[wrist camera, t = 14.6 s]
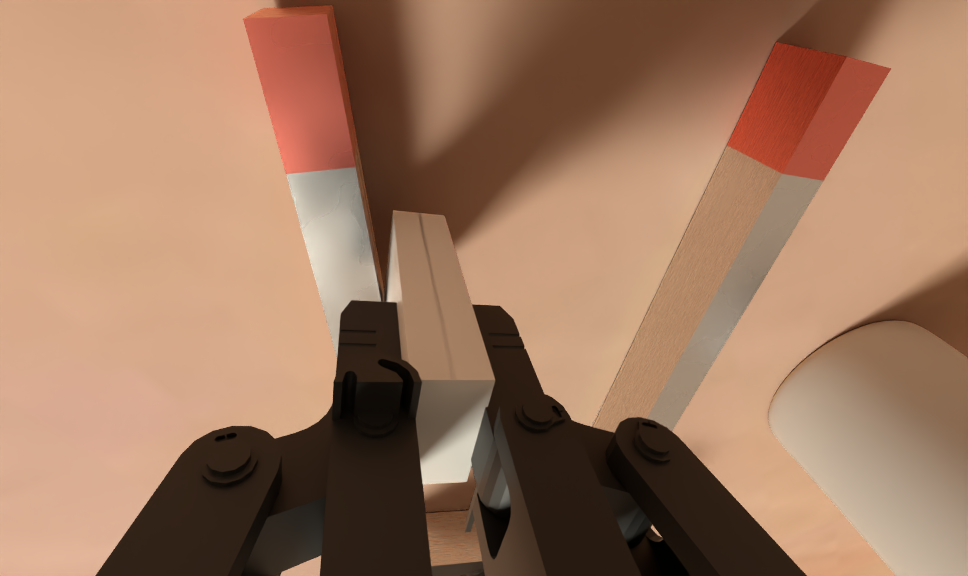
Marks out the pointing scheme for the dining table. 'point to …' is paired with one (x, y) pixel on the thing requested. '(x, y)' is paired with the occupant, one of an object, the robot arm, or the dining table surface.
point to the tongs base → (720, 248)
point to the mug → (886, 440)
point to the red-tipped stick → (318, 150)
